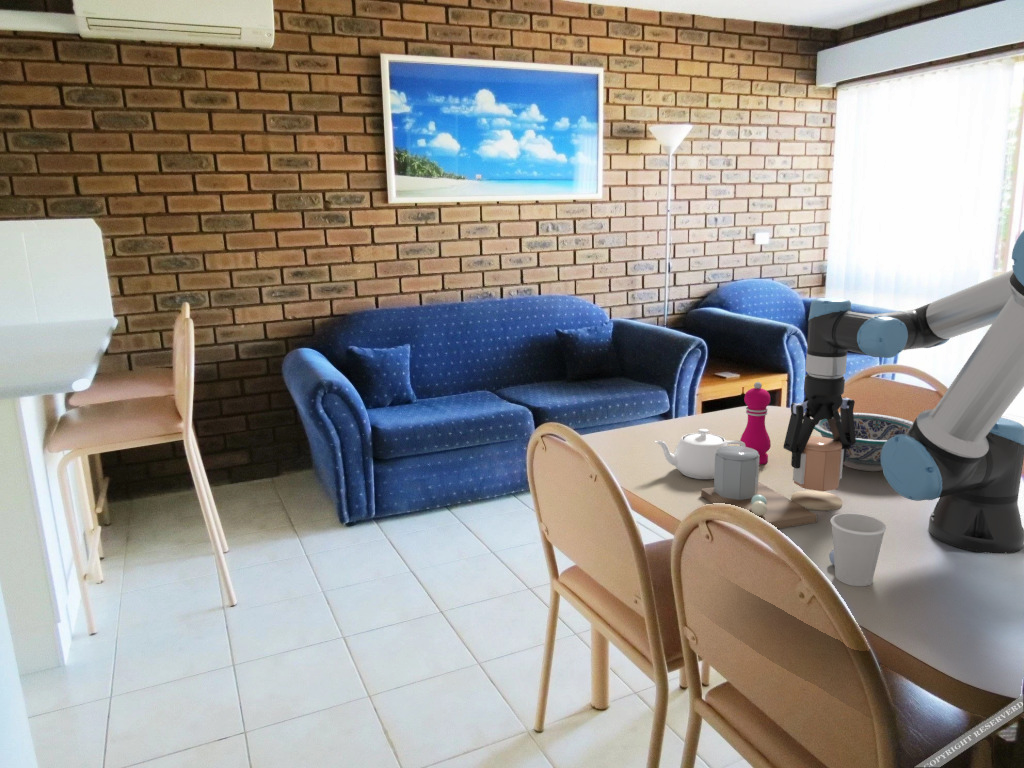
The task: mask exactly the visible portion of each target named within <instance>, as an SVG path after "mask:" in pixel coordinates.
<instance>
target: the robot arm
mask: <svg viewBox="0 0 1024 768" xmlns="http://www.w3.org/2000/svg"><path fill="white" fill-rule="evenodd" d="M1011 259H1012V260H1013V264H1012V269H1011V270H1009V271H1006V272H1004V273H1002V274H998V275H997V276H994V277H992V278H989V279H986V280H983V281H982V282H979V283H977V284H974V285H972V286H968V288H965V289H961V290H960V291H957V292H954V293H951V294H950V295H947V296H945V297H941V298H940V299H937V300H935V301H932V302H930V303H926V305H925V304H924V305H922V306H920V307H917V308H915V309H910V310H903V311H900V310H899V311H893V312H892V311H891V312H882V313H866V312H865V313H863V312H862V313H861V312H855V311H853V309H852V302H851V301H850V300H849V299H847V298H842V297H841V298H840V297H819V298H816V299H815V298H814V299H813V300H812V301H811V303H810V306H809V307H810V308H809V313H808V328H807V329H808V330H807V344H806V345H807V346H806V359H805V360H806V361H805V362H806V363H805V372H806V373H807V374H805V376H804V386H803V387H804V390H803V391H804V393H805V397H804V400H803V402H799V403H796V402H792V403H790V418H789V421H788V422H789V423H788V426H787V428H786V429H787V430H786V434H785V438H784V441H783V449H785V450H786V451H788V452H790V453H791V462H790V463H791V464H790V466H791V467H792V468H793V470H792V471H793V472H792V481H793V482H794V481H795V482H797V483H799V484H804V477H805V463H806V454H804V453H803V451H804V449H805V447H806V444H807V442H808V440H809V438H810V437H812V434H813V431H815V429H814V427H815V425H817V424H818V423H819V421H820V420H823V419H827V420H828V423H829V426H830V429H831V432H832V434H833V437H834V440H837V441H839V442H840V443H841V444H842V457H841V469H840V480H841V479H843V466H844V465H843V462H845V459H846V449H850V448H851V444H855V443H856V437H855V427H854V416H853V412H854V407H855V400H854V399H851V398H849V397H846V396H844V397H843V396H842V395H843V394H844V393H845V383H846V382H845V381H846V377H845V376H844V375H845V374H846V373H847V359H848V351H849V352H853V353H858V354H863V355H867V356H870V357H873V358H884V359H890V358H894V357H896V356H897V355H898V354H899V353H901V352H903V351H907V350H914V349H915V350H916V349H930V348H933V347H938V346H941V345H944V344H946V343H947V342H948V341H949V340H950V339H951V338H955V337H958V336H961V335H964V334H967V333H970V332H973V331H976V330H978V329H983V328H984V327H988V326H990V327H989V329H987V331H986V333H985V334H984V335H983V337H982V338H981V340H980V342H979V343H978V344H977V345H976V347H975V349H974V350H973V352H972V353H971V355H970V356H969V357H968V358H967V361H966V362H965V364H963V367H962V368H961V369H960V371H959V372H958V373H957V375H956V376H955V378H954V379H953V381H952V382H951V384H950V385H949V387H948V388H947V390H946V392H945V393H944V394H943V396H942V397H941V399H940V400H939V401H938V403H937V404H936V406H935V407H934V408H932V409H924V410H923V411H921V412H920V413H919V414H918V415H917V417H916V418H915V419H914V420H913V421H912V422H913V424H912V425H911V427H910V428H909V430H908V431H907V432H906V433H905V434H899V435H895V436H894V437H892V438H890V439H889V440H887V441H886V443H885V444H884V446H883V448H882V451H881V457H880V459H881V466H882V468H883V470H882V472H883V476H884V478H885V480H886V481H887V482H888V485H889V486H890V487H891V488H892V489H893V490H894V491H895V492H896V493H897V494H898V495H900V496H901V497H903V498H905V499H907V500H910V501H915V502H919V501H925V500H926V501H933V500H936V499H938V501H937V502H936V504H935V507H934V509H933V511H932V512H931V514H930V516H929V519H928V531H929V533H930V535H932V536H933V537H934V538H936V539H937V540H939V541H941V542H943V543H945V544H947V545H950V546H953V547H956V548H959V549H962V550H965V551H972V552H977V553H984V554H993V555H998V554H999V555H1000V554H1002V555H1004V554H1012V553H1015V552H1018V551H1020V550H1022V549H1023V548H1024V527H1023V524H1022V518H1021V514H1020V510H1019V504H1018V502H1019V493H1020V486H1021V480H1022V473H1023V472H1022V471H1023V466H1024V425H1023V424H1021V423H1020V422H1018V421H1015V420H1012V419H1008V418H1005V417H1002V416H1003V414H1004V413H1005V412H1006V411H1007V409H1008V408H1009V407H1010V406H1011V404H1012V403H1013V402H1014V401H1015V399H1016V398H1017V397H1018V395H1019V394H1020V393H1021V391H1022V389H1024V229H1023V230H1022V231H1021V233H1020V234H1019V236H1018V237H1017V239H1016V241H1015V243H1014V246H1013V248H1012V252H1011ZM839 411H840V412H839ZM839 413H840V414H841V418H840V415H839ZM840 420H841V422H840ZM841 424H842V425H841Z"/></svg>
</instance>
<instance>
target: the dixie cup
mask: <svg viewBox="0 0 1024 768" xmlns="http://www.w3.org/2000/svg"><path fill="white" fill-rule="evenodd" d="M829 522H830V523H831V529H832V545H833V550H834V564H835V565H834V576H835V578H836V579H837V580H838V581H839V582H841V583H843V584H845V585H849V586H853V587H867V586H870V585H871V584H873V580H874V575H875V572H876V567H877V565H878V559H879V555H880V551H881V547H882V543H883V540H884V539H883V538H884V534H885V532H886V531H887V525H886V524H885V523H884V522H883V521H882V520H880V519H878V518H876V517H874V516H870V515H867V514H863V513H856V512H855V513H854V512H842V513H837V514H835V515H833V516H832V517H831V518H830V521H829Z"/></svg>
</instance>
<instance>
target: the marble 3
mask: <svg viewBox="0 0 1024 768" xmlns="http://www.w3.org/2000/svg"><path fill="white" fill-rule="evenodd" d="M828 556H829V557H828V559H829V561H830V563H831V564H832V565H833V566H835V564H834V549H832V550H831V551H830V553H829V555H828Z"/></svg>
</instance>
